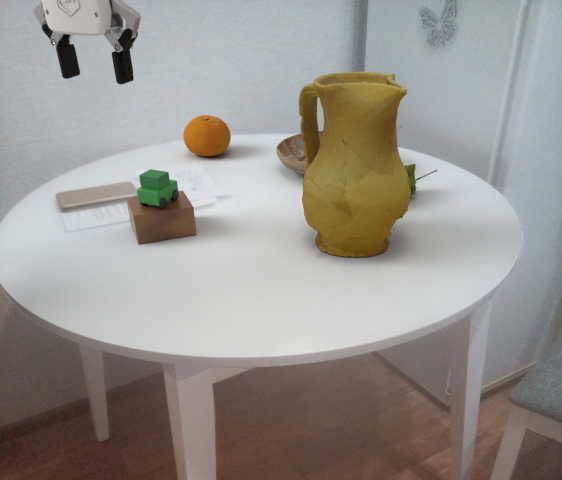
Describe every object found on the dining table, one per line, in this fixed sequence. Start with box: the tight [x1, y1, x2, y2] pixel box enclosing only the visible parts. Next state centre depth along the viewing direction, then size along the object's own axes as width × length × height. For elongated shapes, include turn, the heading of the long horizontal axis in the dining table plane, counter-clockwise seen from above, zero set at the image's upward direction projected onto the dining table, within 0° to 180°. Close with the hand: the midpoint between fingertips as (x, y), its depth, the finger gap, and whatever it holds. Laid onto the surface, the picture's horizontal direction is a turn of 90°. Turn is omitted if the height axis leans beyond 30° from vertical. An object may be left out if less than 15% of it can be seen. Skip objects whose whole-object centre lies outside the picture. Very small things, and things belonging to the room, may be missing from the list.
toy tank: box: [403, 163, 437, 194], centre depth 106 cm, size 7×19×10 cm
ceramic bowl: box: [275, 130, 323, 176], centre depth 119 cm, size 23×24×5 cm
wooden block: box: [125, 190, 197, 245], centre depth 96 cm, size 10×8×5 cm
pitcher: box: [298, 71, 412, 258], centre depth 87 cm, size 17×19×25 cm
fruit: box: [183, 114, 232, 157], centre depth 127 cm, size 10×10×8 cm
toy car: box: [136, 168, 179, 209], centre depth 93 cm, size 6×4×5 cm
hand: (98, 79), depth 81 cm, fingers open, 9 cm apart
